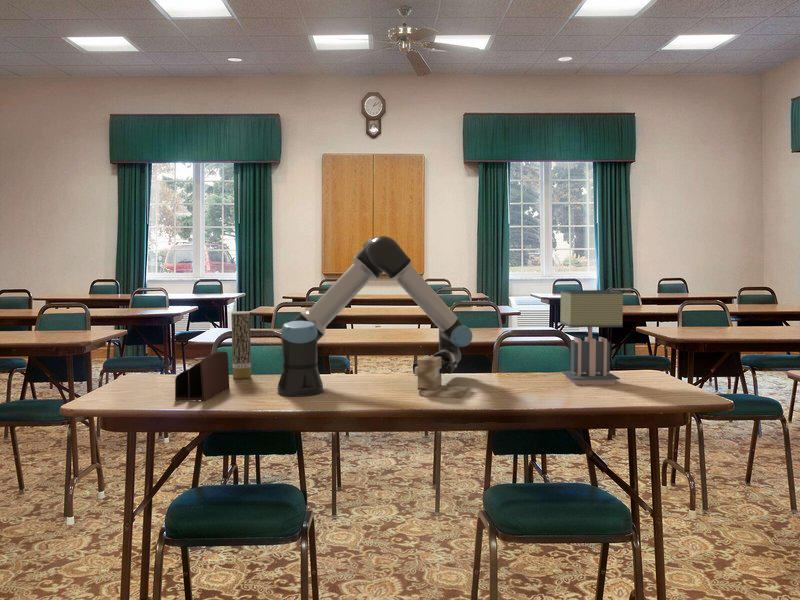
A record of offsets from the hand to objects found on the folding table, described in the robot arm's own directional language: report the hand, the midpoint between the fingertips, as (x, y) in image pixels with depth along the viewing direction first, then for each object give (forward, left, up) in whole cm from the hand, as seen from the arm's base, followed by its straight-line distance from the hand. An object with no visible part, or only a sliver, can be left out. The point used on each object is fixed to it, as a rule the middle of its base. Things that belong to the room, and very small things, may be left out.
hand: (425, 372), depth 202 cm
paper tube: (-75, +11, -8) cm, 76 cm away
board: (+5, +5, -8) cm, 10 cm away
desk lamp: (+51, +39, -8) cm, 65 cm away
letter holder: (-72, -18, -8) cm, 75 cm away
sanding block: (0, +5, -6) cm, 8 cm away
